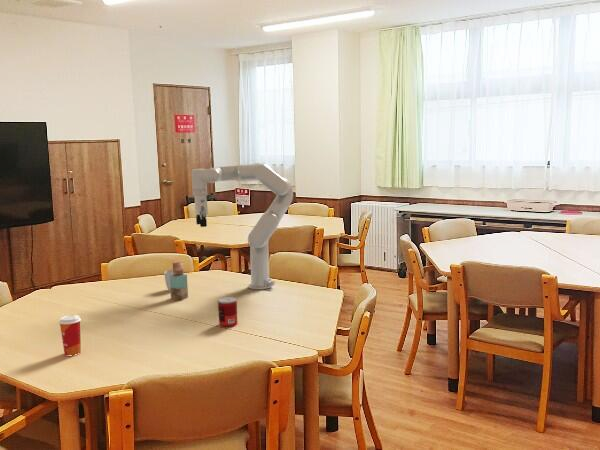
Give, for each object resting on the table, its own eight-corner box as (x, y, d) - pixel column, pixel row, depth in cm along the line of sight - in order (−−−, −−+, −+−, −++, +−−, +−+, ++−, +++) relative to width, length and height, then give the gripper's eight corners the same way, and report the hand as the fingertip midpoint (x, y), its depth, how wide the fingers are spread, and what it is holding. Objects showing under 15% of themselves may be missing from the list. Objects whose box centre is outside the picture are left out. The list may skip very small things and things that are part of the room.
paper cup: (65, 350, 230) (62, 314, 228) (85, 349, 230) (83, 313, 228) (58, 358, 222) (55, 321, 220) (80, 356, 223) (77, 320, 221)
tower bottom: (188, 297, 301) (187, 285, 300) (181, 300, 296) (181, 288, 295) (177, 296, 303) (176, 285, 303) (171, 299, 298) (170, 287, 297)
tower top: (187, 286, 299) (186, 274, 298) (177, 289, 295) (176, 277, 294) (180, 284, 303) (179, 273, 302) (170, 287, 299) (169, 275, 298)
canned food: (240, 322, 259) (239, 297, 257) (232, 328, 252) (231, 302, 250) (224, 321, 262) (223, 296, 260) (216, 326, 254) (214, 301, 252)
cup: (177, 292, 311) (176, 273, 310) (162, 292, 313) (161, 273, 311) (183, 288, 319) (182, 269, 318) (169, 288, 321) (168, 269, 319)
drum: (185, 274, 299) (185, 262, 298) (178, 276, 294) (178, 264, 294) (177, 273, 301) (177, 261, 300) (171, 275, 297) (170, 263, 296)
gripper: (210, 193, 305) (212, 227, 308) (203, 190, 321) (205, 222, 324) (196, 194, 303) (197, 228, 305) (189, 191, 319) (191, 223, 321)
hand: (201, 225), depth 314 cm, fingers open, 9 cm apart
